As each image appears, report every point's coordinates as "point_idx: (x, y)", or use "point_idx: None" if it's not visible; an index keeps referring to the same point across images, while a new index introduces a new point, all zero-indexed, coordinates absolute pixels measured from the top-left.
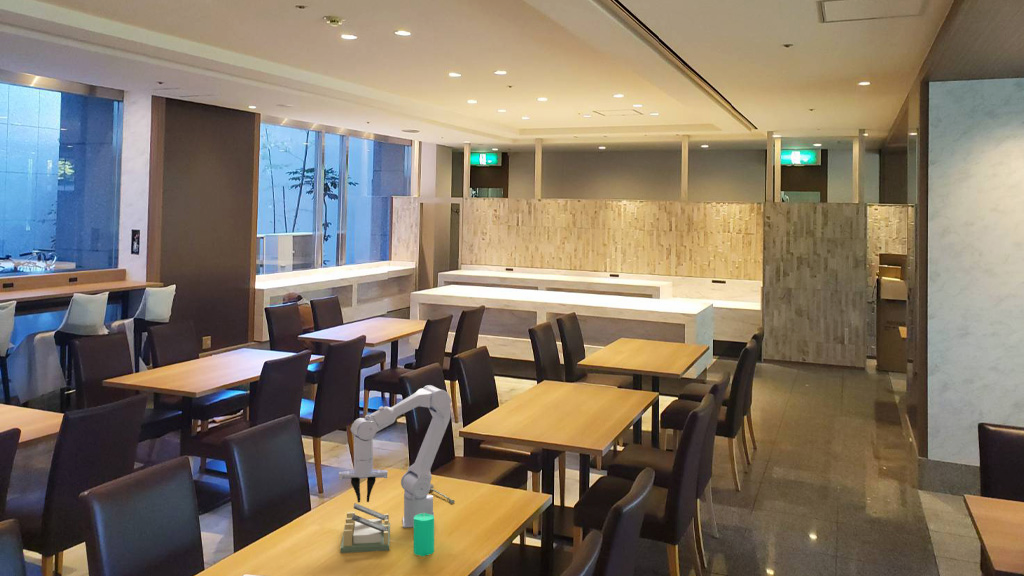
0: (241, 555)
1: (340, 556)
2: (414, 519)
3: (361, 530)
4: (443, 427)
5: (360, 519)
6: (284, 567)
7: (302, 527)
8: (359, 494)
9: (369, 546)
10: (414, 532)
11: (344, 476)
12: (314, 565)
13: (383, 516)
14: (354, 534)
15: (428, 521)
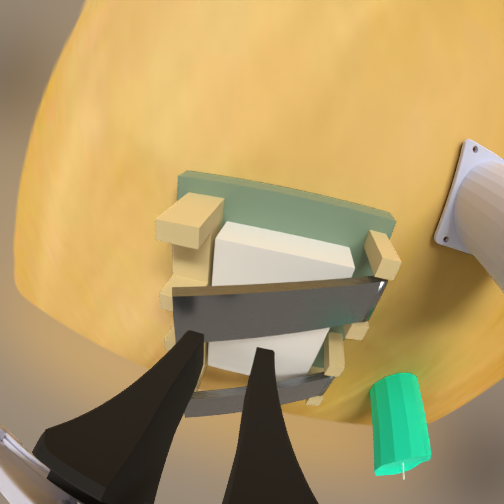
0: (17, 263)
1: None
2: (374, 470)
3: (237, 347)
4: None
5: (219, 409)
6: (92, 341)
7: (59, 122)
8: (181, 415)
9: None
10: (373, 438)
11: (16, 460)
12: (140, 360)
13: (357, 306)
14: (211, 361)
15: (398, 470)
